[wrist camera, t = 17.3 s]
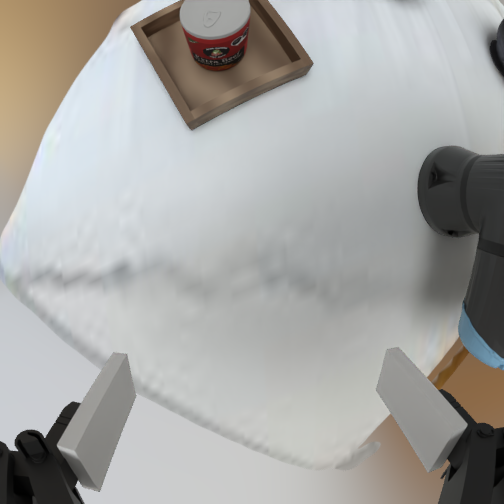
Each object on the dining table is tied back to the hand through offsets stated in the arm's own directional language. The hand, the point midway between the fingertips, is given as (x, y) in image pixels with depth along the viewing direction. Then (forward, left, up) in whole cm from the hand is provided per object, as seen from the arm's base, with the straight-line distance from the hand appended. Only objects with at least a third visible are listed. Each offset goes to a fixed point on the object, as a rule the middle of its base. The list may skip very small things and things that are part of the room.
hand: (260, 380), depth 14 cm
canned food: (-11, -27, -28) cm, 40 cm away
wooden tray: (-11, -27, -29) cm, 41 cm away
